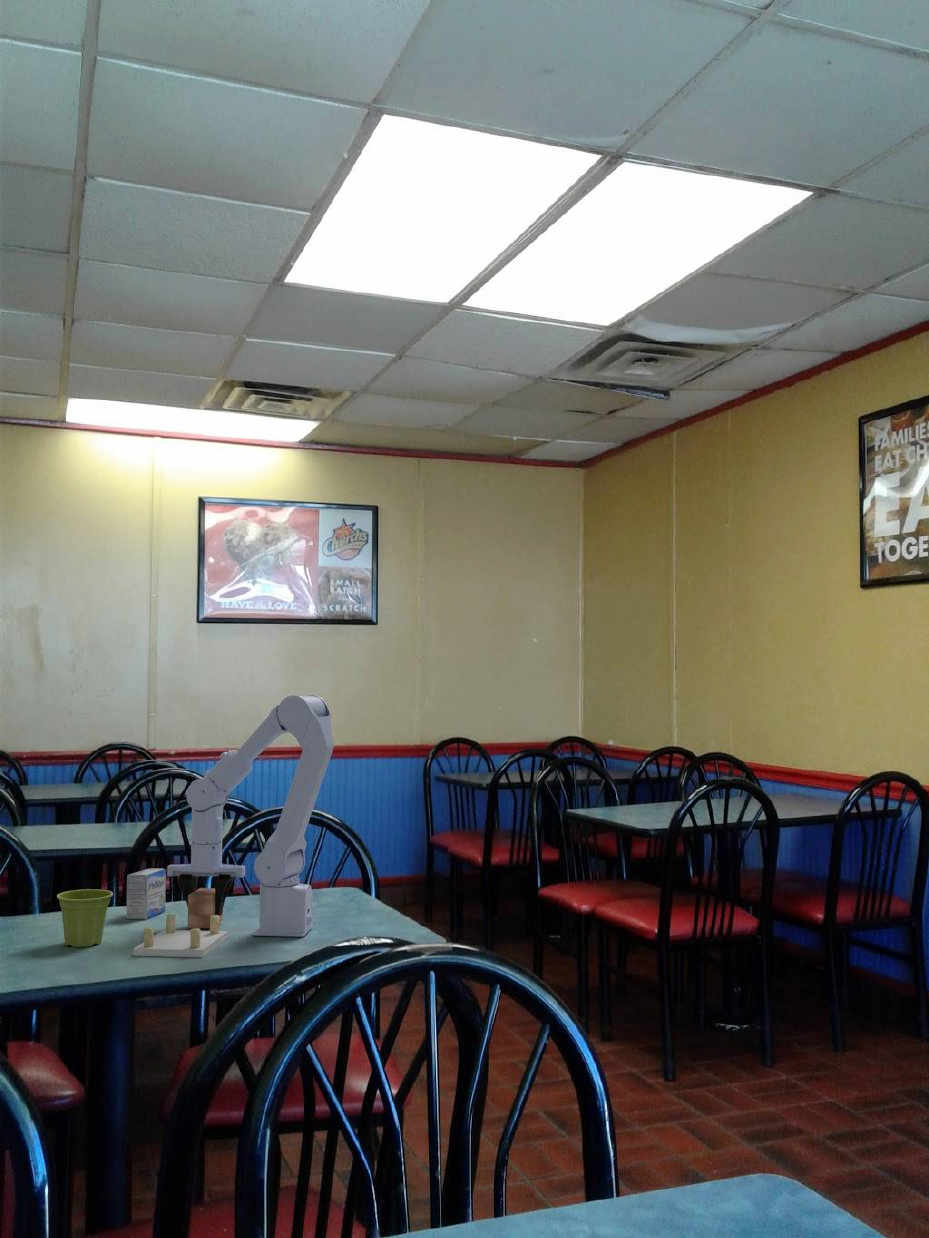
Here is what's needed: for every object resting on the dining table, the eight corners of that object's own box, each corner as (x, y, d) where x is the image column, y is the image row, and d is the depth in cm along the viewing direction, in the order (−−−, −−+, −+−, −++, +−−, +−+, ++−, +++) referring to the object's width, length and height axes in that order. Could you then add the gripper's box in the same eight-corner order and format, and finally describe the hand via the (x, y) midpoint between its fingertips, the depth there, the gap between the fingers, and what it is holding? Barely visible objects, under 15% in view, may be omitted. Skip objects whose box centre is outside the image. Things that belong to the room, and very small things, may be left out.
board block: (222, 920, 206) (223, 888, 207) (211, 928, 199) (211, 895, 200) (199, 919, 206) (200, 888, 207) (187, 927, 200) (188, 895, 200)
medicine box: (146, 920, 209) (147, 875, 209) (125, 919, 210) (126, 874, 210) (165, 911, 216) (166, 868, 217) (145, 910, 217) (146, 867, 218)
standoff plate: (227, 938, 194) (228, 914, 194) (202, 957, 180) (203, 931, 180) (163, 936, 195) (163, 913, 195) (133, 955, 181) (134, 930, 181)
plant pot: (111, 936, 195) (112, 887, 196) (112, 947, 186) (113, 897, 187) (56, 939, 192) (57, 890, 193) (54, 951, 183) (55, 900, 184)
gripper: (250, 839, 207) (249, 911, 206) (176, 839, 208) (175, 909, 207) (239, 845, 200) (238, 919, 199) (163, 844, 201) (162, 917, 200)
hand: (205, 915), depth 203 cm, fingers closed on board block, 4 cm apart
